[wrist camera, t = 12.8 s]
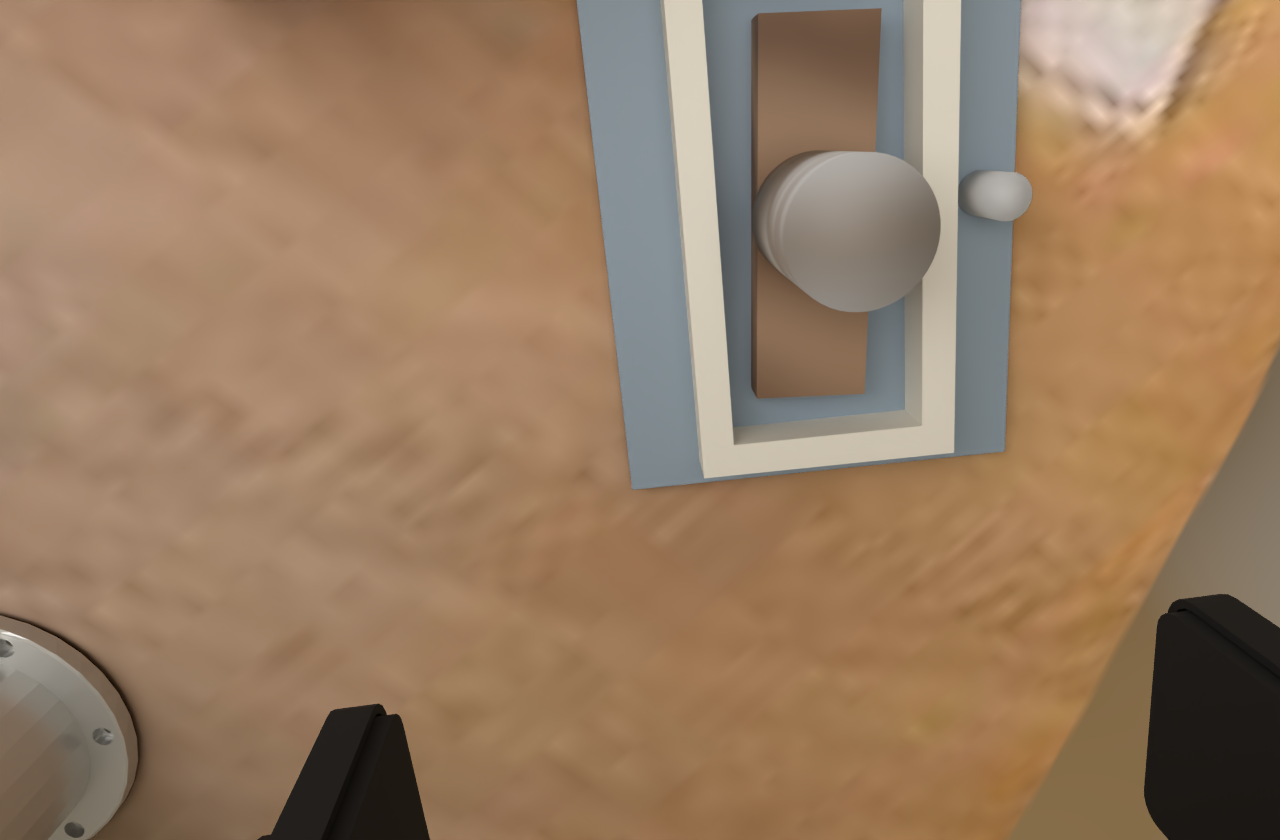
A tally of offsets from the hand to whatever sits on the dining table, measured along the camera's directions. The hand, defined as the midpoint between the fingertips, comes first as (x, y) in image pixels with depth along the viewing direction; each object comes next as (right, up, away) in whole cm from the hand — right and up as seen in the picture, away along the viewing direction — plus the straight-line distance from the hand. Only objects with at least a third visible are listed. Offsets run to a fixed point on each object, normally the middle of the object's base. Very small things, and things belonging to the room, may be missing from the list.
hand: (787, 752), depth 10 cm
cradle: (+4, +12, +21) cm, 25 cm away
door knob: (+4, +12, +20) cm, 24 cm away
